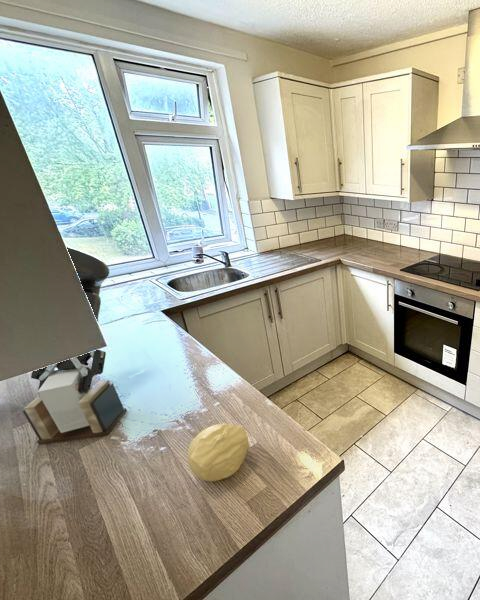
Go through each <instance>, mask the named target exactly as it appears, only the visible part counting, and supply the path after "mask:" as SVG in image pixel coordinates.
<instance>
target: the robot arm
mask: <svg viewBox="0 0 480 600" xmlns="http://www.w3.org/2000/svg"><path fill="white" fill-rule="evenodd" d="M66 246H67V249H68V252H69V254H70V256H71V259H72V261H73V263H74V266H75V268H76V271H77V273H78V276H79V278H80V281H81V284H82V286H83V289H84V291H85V293H86V295H87V297H88V300H89V302H90V304H91V307H92V309H93V312H94V315H95V317H96V319H97V321H98V322H99V315H100V311H101V305H102V299H101V297H100V293H101V291H100V290H101V287H102V284H103V283H104V282H105V281H106V280H107V279H108V278H109V276H110V268H109V266H108V265H107V264H106V263H105V262H104V261H103V260H102V259H100V258H98V257H97V256H94V255H92V254H90V253H87V252H85V251H82V250H79V249H78V248H77V249H76V248H74V247H71V246H69V245H66ZM95 350H96V351H95ZM95 350H94V351H93V350H92V352H90V353H87V354H84V355H82V356H78V357H75V358H73V359H69V360H66V361H63V362H60V363H57V364H54V365H51V366H49V365H48V367H45V368H43V369H39V370H37V371H33V370H32V371H33V372H31V374H30V378H31V379H34V380H38V381H39V383H38V389H37V391H38V390H39V389H40V387H41V386H42V385H43V383H44V382H45V381H46V379H47V378H48V376H49V375H50V374H51V373H56V372H59V371H64V370H69V369H78V370H79V371H80V373H81V374H82V376H83V377H81V378H80V383H79V388H78V392H79V393H87V392H88V390H89V389H90V387H91V386H92V382H93V378H94V377H95V376H97V375H101V374H103V373H104V368H105V361H106V355H107V352H106V351H105V350H102V349H98V350H97V349H95ZM91 358H92V362H91V364H90V362H89V360H90V359H91Z"/></svg>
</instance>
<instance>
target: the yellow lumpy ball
mask: <svg viewBox="0 0 480 600" xmlns="http://www.w3.org/2000/svg"><path fill="white" fill-rule="evenodd" d="M249 449H250V443H249V436H248V435H247V432H246V429H245V427H244V426H243V425H241V424H240V425H239V424H236V425H232V424H229V423H217V424H213V425H210V426H207V427H206V428H204V429H203V430H201V431H200V432H199V433H198V434H197V435H196V436H194V438H193V440H192V441H191V443H190V445H189V447H188V450H187V464H188V467H189V469H190V471H191V472H192V474H193V475H194V476H195V477H197V478H198V479H200V480H202V481H205V482H217V481H221V480H224V479H227V478H229V477H231V476H233V475H234V474H235V473H236V472H237V471H238V470H239V469H240V468H241V465H242V464H243V463H244V460H245V458H246V456H247V452H248V450H249Z"/></svg>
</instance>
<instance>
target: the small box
mask: <svg viewBox="0 0 480 600" xmlns="http://www.w3.org/2000/svg"><path fill="white" fill-rule="evenodd" d="M81 377H83V376H82V374H81V373H80V371H79V370H78V369H69V370H64V371H59V372H56V373H51V374H50V375H49V376H48V378H47V379H46V381H45V382H44V383H43V385H42V386H41V387H40V389H39V390H38V389H37V392H36V393H37V395H38V396H40V398H41V399H42V401H43V403H44V405H45V406H46V408H47V410H48V412H49V413H50V415H51V417H52V419H53V420H54V422H55V424H56V426H57V427H58V429H59V431H60V432H61V433H63V432H67V431H71V430H74V429H78V428H82V427H86V426H89V423H88V421H87V419H86V417H85V415H84V413H83V411H82V409H81V407H80V405H79V403H78V402H79V401H80V400H81V399H82V398H83V397H84V396H85V395H86V394H87V393H88V392H89V391H90V390H91V389H92V388H93V387H92V385H91V387H90V389H89V390H88V392H87V393H79V392H78V388H79V383H80V378H81Z"/></svg>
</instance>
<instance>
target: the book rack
mask: <svg viewBox="0 0 480 600" xmlns="http://www.w3.org/2000/svg"><path fill="white" fill-rule="evenodd" d="M78 403H79V405H80V407H81V409H82V411H83V413H84V415H85V417H86V419H87V421H88V423H89V426H86V427H82V428H78V429H74V430H71V431H67V432H63V433H61V432H60V431H59V429H58V427H57V426H56V424H55V422H54V420H53V419H52V417H51V415H50V413H49V412H48V410H47V408H46V406H45V405H44V403H43V401H42V399H41V398H40V396H39V395H37V397H36V398H34V399H33V400H31V401H30V402H29V403H28V404H27V405H26V406H24V408H23V410H22V413H23V415H24V417H25V418H26V420H27V421H28V423H29V425H30V427H31V428H32V430H33V432H34V433H35V435H36V437H37V438H38V439H37V440H36V443H37V444H38V445H43V444H50V443H51V444H52V443H59V442H66V441H72V440H73V441H75V440H82V439H91V438H97V437H105V436H108V435H110V433H111V432H112V431H113V429H114V428H115V427H116V425H117V424H118V423H119V421H121V419H122V418H123V417H124V416H125V414H126V413H127V411H128V409H127V408H126V407H124V406H123V404H122V402H121V399H120V396H119V394H118V391H117V390H116V386H115V385H114V382H110V380H109V379H103V380H99V381H98V382H97V383H96V384H95V385H94V386H93V387H92V389H91V390H90V391H89V392H88V393H87V394H86V395H85V396H84V397H83V398H82V399H81V400H80V401H79V402H78Z"/></svg>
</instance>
